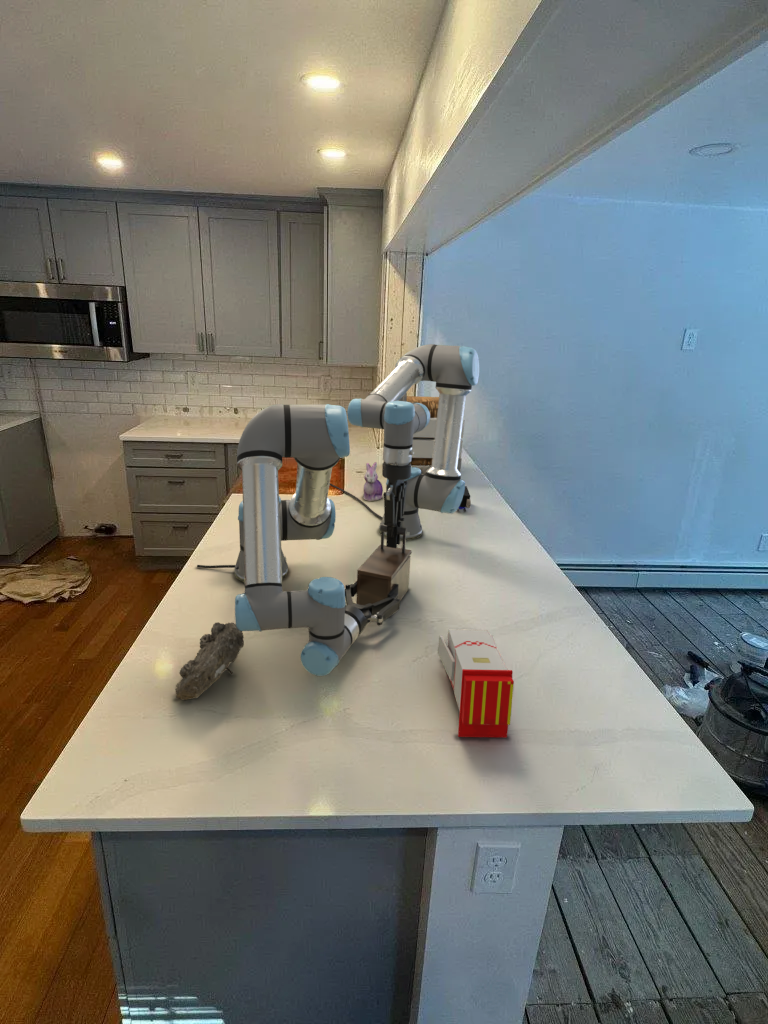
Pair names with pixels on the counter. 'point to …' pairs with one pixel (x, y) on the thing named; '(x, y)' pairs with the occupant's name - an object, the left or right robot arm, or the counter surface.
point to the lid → (386, 558)
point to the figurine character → (465, 500)
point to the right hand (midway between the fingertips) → (393, 545)
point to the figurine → (372, 484)
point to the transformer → (427, 433)
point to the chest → (382, 585)
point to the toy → (478, 682)
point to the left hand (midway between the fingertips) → (379, 585)
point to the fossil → (210, 660)
